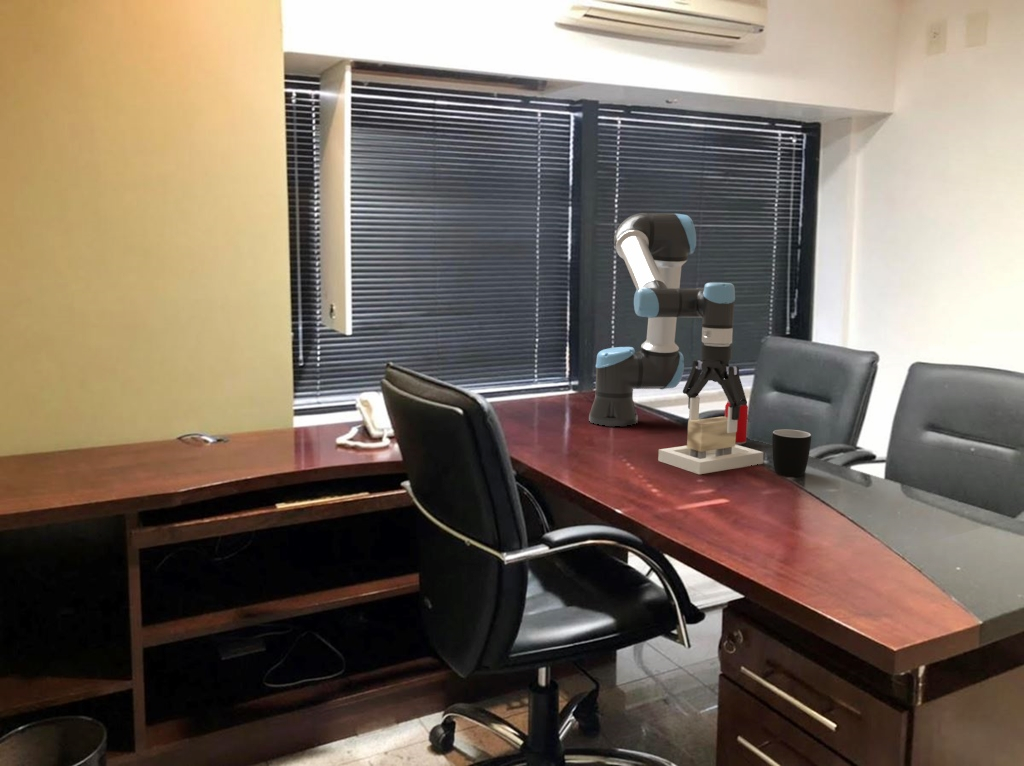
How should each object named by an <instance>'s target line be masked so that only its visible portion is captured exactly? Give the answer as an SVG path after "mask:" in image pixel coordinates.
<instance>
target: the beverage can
mask: <svg viewBox="0 0 1024 766" xmlns="http://www.w3.org/2000/svg"><path fill="white" fill-rule="evenodd" d="M729 406H730V403H729V401H728V400H727V402H726V404H725V406H724V408H725V409H724V417H727V418H728V407H729ZM748 411H749V406H748V404H747V405H743V406H741V407H740V415H739V420H737V432H736V440H735V445H739V446H741V445H744V444H745V443H746V442H747V432H748V415H749V413H748Z"/></svg>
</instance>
